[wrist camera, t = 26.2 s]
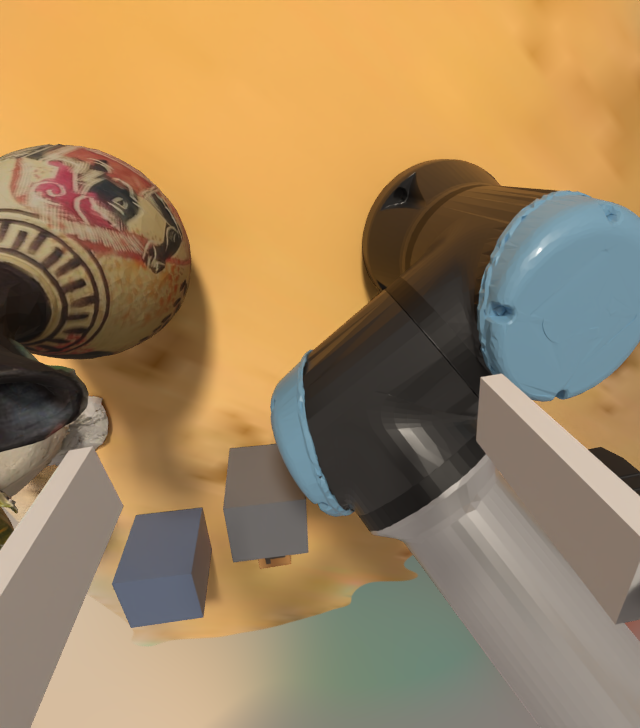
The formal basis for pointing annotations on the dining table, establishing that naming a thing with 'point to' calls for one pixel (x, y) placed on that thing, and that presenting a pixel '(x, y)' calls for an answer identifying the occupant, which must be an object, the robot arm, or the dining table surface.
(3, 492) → the grey piece
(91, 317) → the ceramic jug
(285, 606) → the dining table surface
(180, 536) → the slate blue cube
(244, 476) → the matte gray cube
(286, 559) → the letter cube
